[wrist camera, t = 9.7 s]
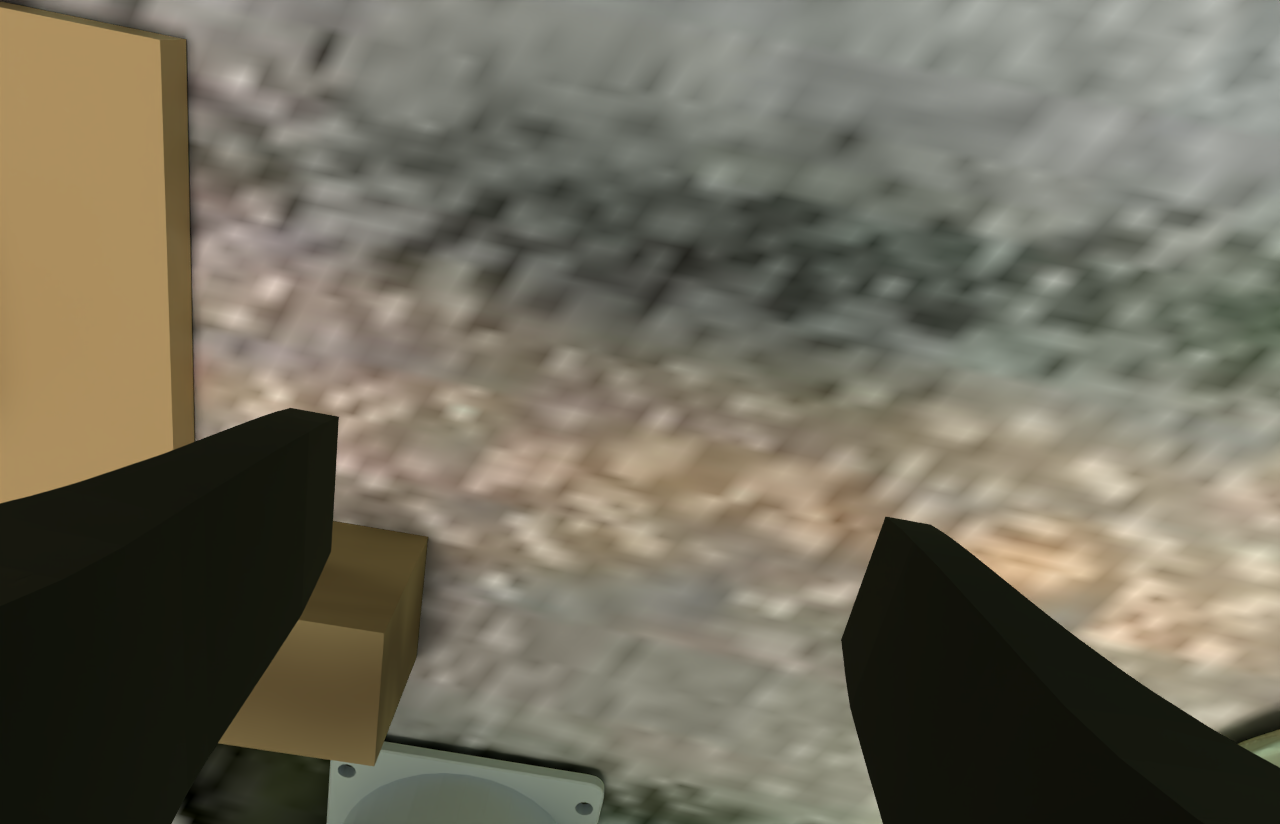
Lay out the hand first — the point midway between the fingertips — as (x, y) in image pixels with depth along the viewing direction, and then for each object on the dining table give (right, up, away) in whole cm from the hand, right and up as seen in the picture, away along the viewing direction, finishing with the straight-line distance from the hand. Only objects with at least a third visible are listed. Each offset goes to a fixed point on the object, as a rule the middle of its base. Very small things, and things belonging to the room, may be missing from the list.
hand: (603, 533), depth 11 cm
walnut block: (-7, -3, +12) cm, 14 cm away
